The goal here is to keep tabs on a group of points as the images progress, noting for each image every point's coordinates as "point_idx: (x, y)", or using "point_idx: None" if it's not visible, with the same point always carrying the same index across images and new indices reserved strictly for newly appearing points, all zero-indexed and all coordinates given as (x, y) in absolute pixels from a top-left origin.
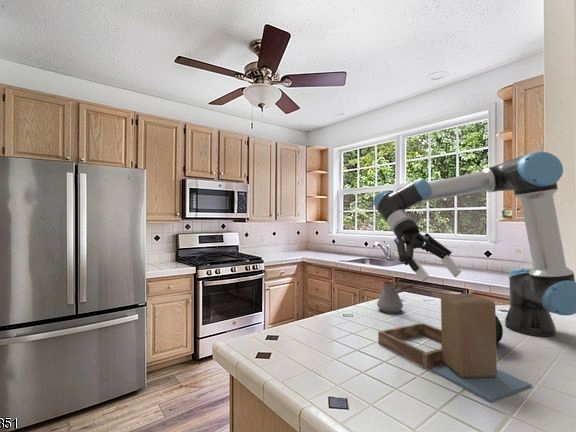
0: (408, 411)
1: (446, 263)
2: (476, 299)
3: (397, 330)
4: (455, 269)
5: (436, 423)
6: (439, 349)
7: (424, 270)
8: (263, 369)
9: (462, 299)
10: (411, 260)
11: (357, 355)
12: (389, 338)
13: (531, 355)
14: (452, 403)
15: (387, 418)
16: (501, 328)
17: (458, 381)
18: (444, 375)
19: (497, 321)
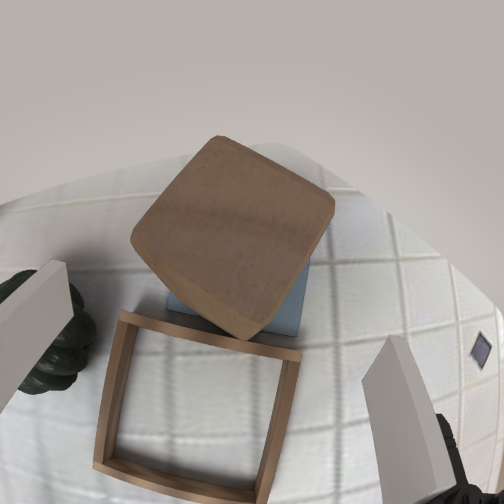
0: (431, 282)
1: (8, 373)
2: (244, 174)
3: (200, 493)
4: (48, 295)
5: (420, 245)
6: (244, 348)
7: (406, 372)
8: (491, 470)
9: (293, 207)
10: (458, 483)
11: (359, 472)
12: (274, 473)
13: (56, 236)
14: (367, 254)
15: (458, 289)
16: (35, 270)
17: (302, 276)
18: (301, 306)
19: (28, 273)
